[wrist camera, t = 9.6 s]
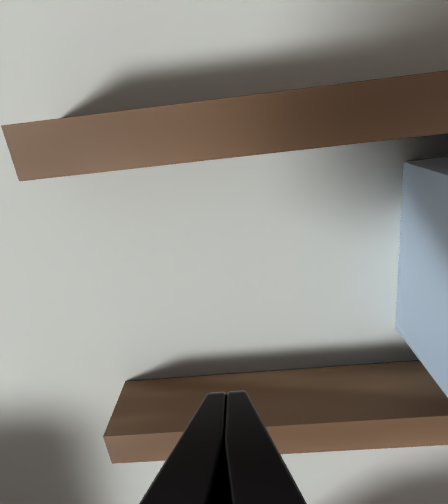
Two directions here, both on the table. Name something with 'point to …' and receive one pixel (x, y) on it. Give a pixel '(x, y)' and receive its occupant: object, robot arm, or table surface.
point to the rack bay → (245, 144)
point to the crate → (425, 265)
